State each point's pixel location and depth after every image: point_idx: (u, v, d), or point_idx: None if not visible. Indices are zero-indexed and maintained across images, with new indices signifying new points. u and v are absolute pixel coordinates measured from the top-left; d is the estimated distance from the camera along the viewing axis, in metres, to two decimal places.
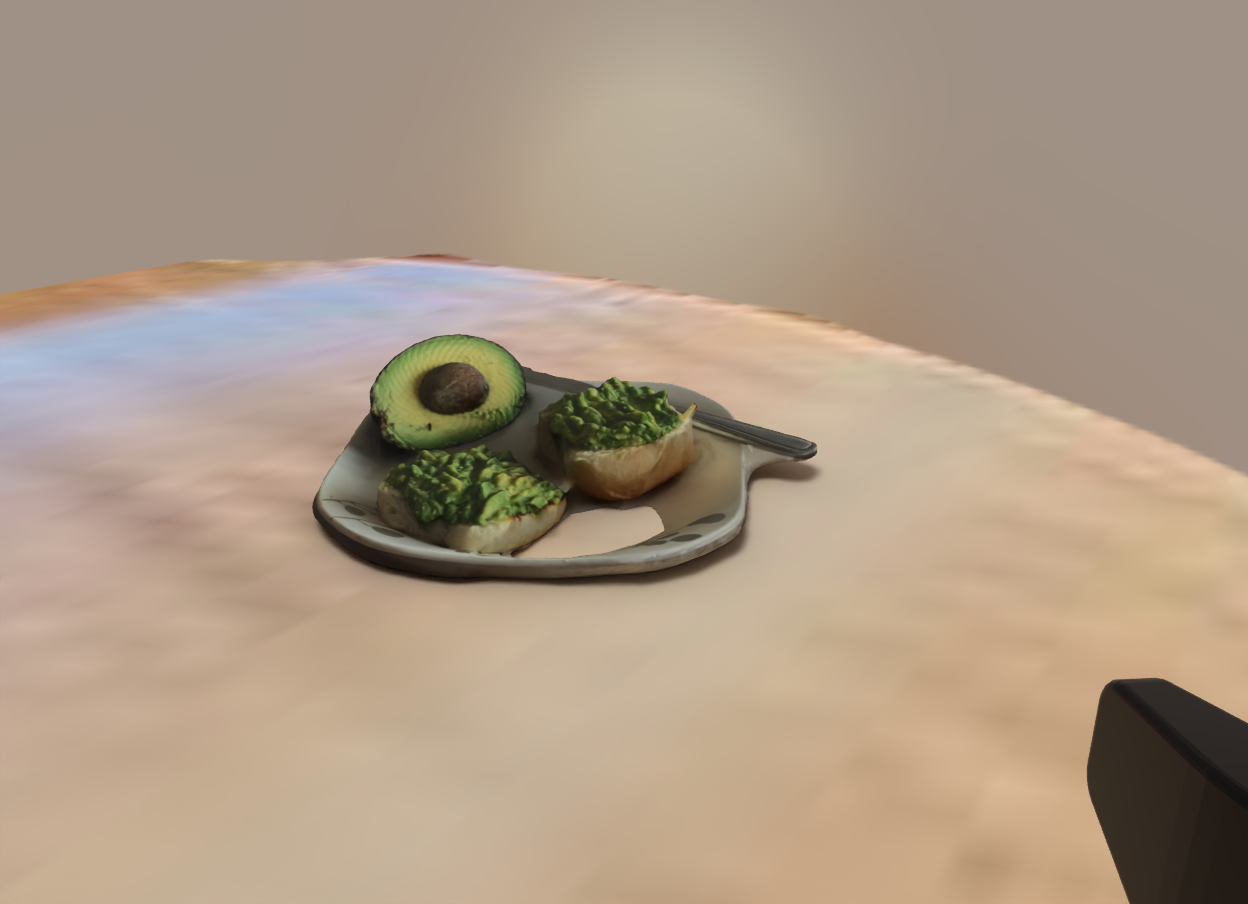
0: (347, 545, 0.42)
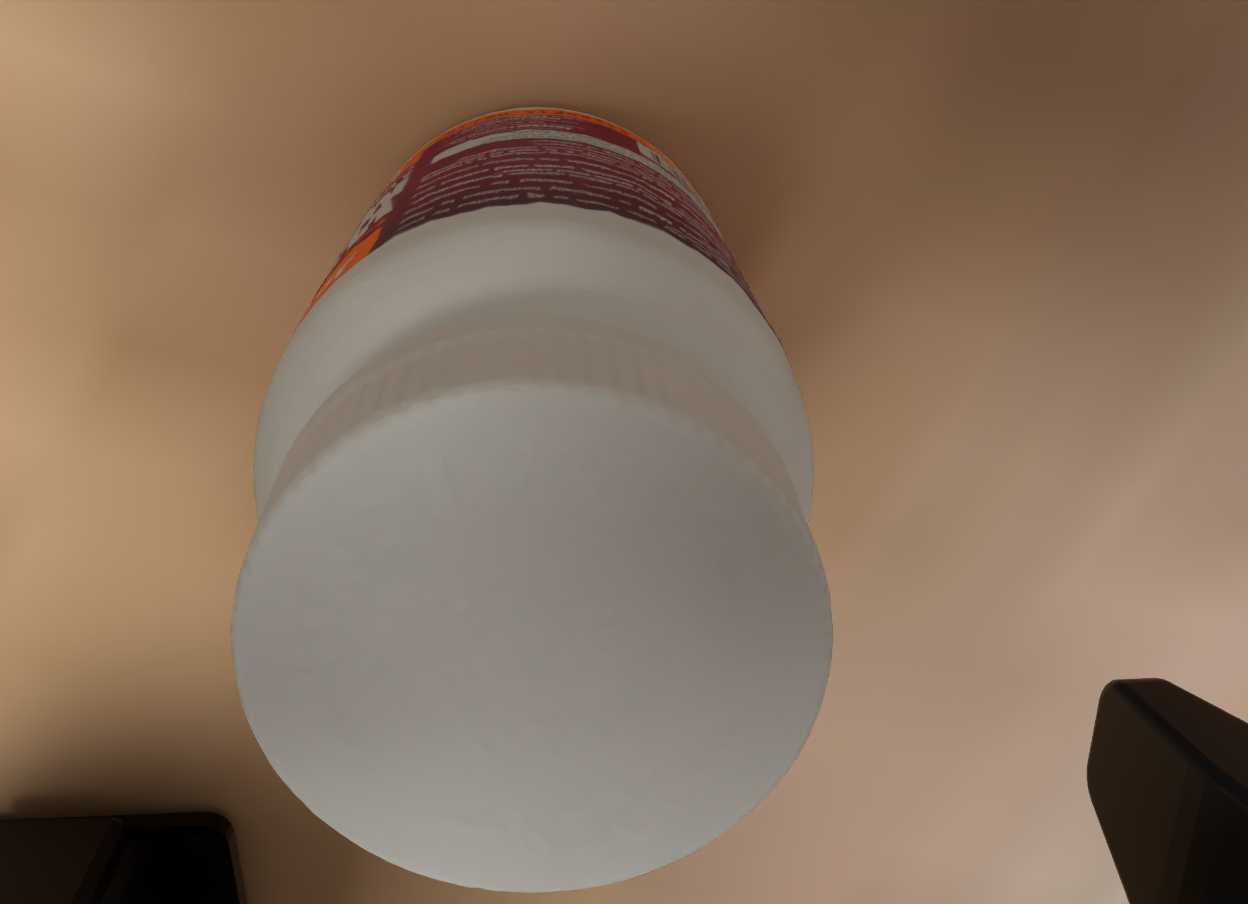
0: None
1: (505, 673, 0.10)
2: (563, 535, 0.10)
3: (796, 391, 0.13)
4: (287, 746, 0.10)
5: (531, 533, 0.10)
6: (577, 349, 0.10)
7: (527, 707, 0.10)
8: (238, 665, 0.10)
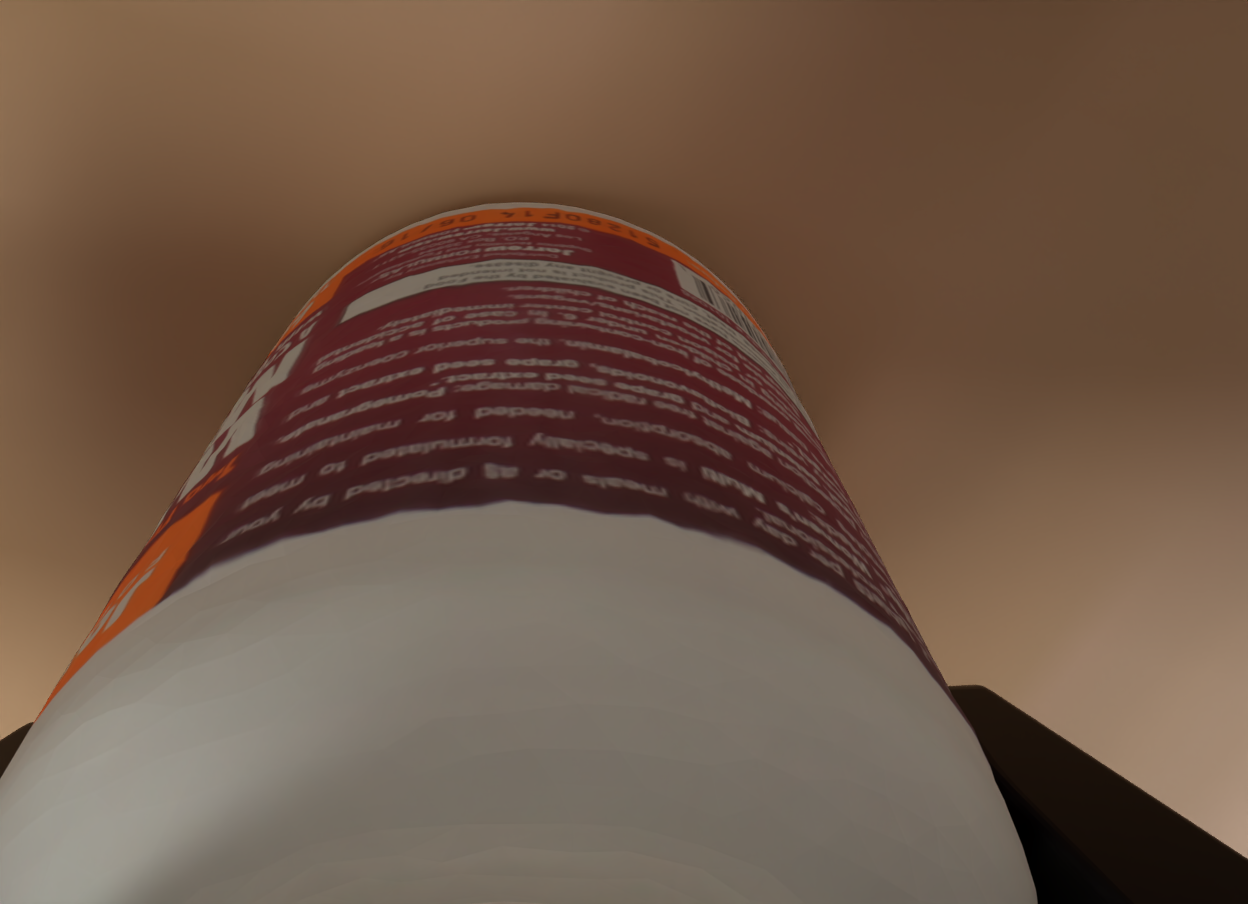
0: None
1: None
2: None
3: (1024, 865, 0.06)
4: None
5: None
6: None
7: None
8: None
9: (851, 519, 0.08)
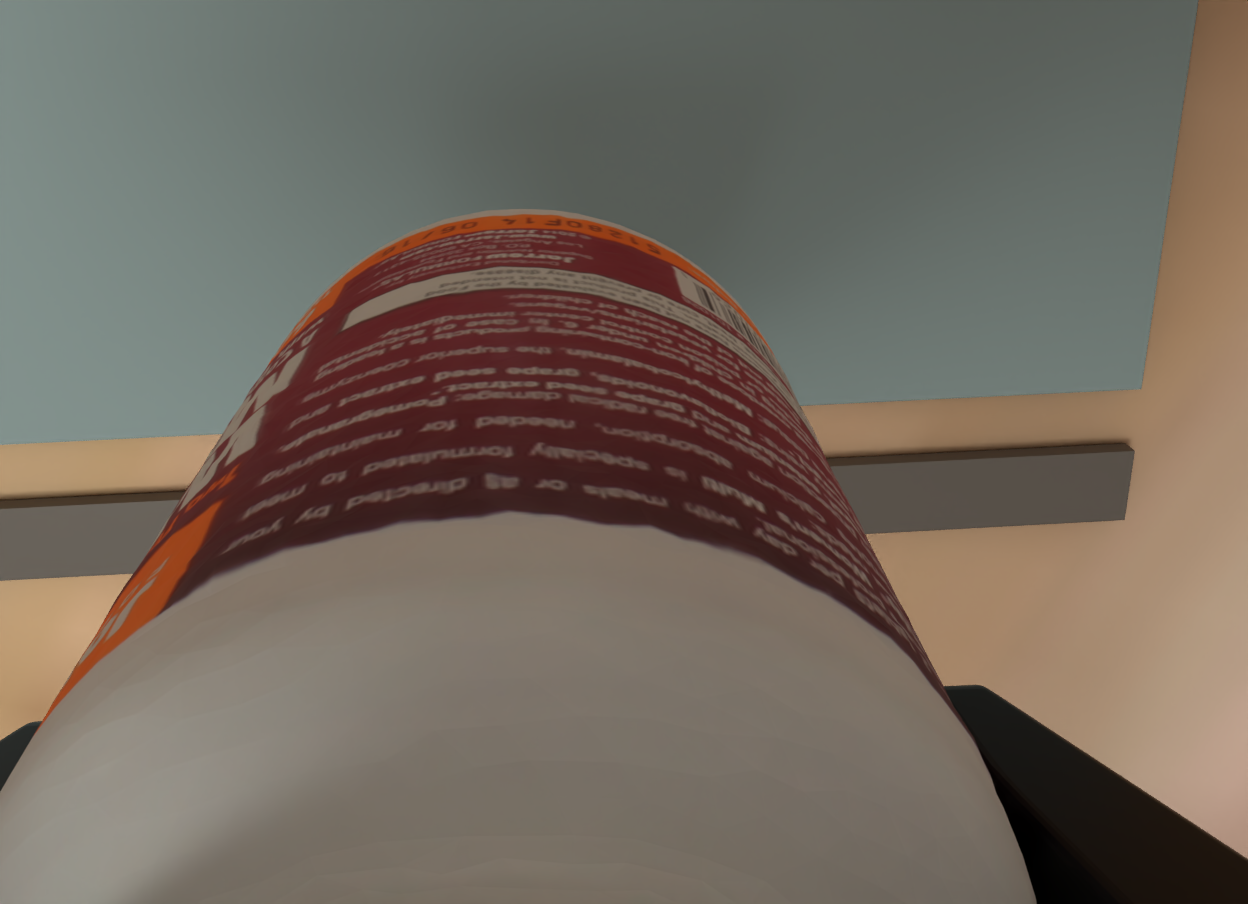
0: None
1: None
2: None
3: (1024, 876, 0.06)
4: None
5: None
6: None
7: None
8: None
9: (852, 527, 0.08)
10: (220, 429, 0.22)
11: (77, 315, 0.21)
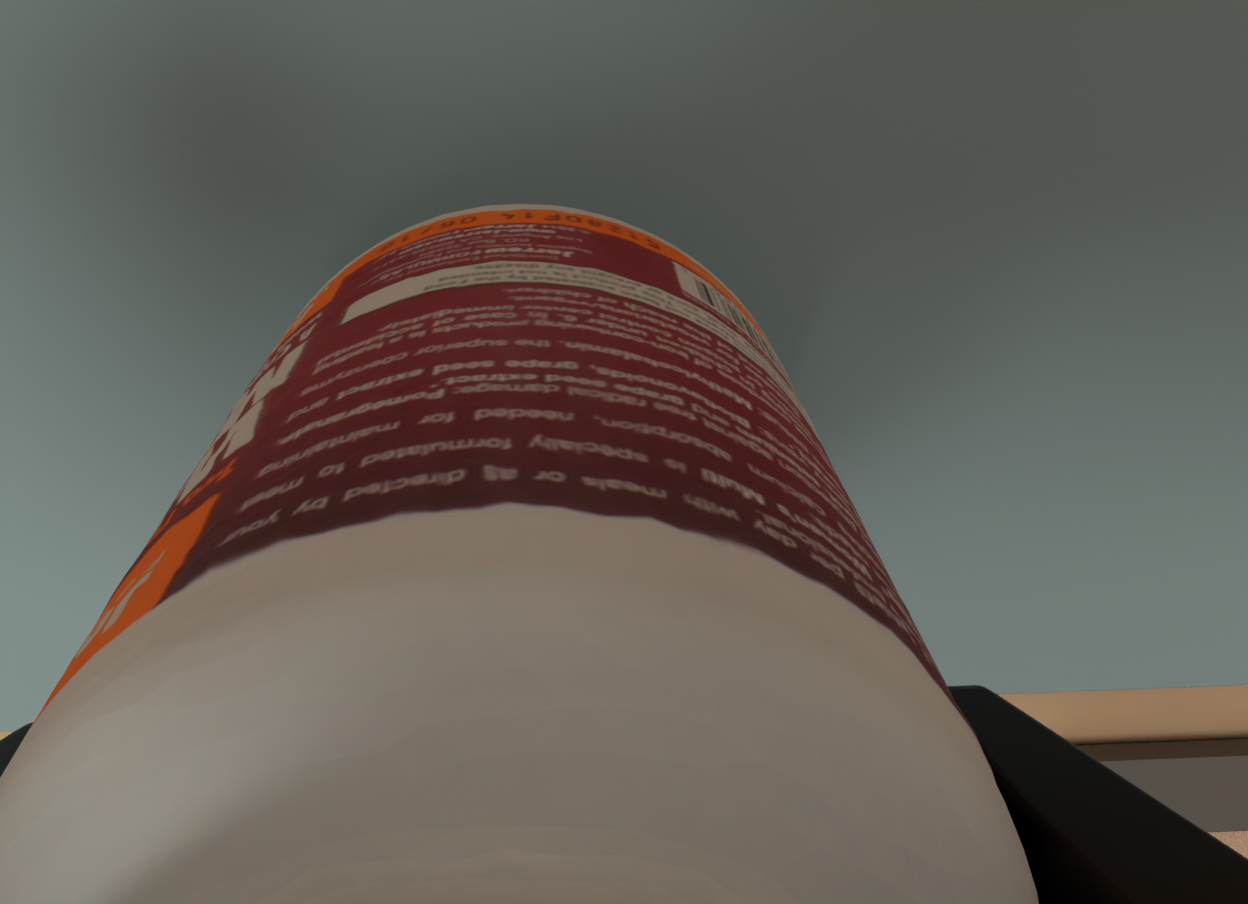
0: None
1: None
2: None
3: (1025, 869, 0.06)
4: None
5: None
6: None
7: None
8: None
9: (852, 521, 0.08)
10: None
11: None
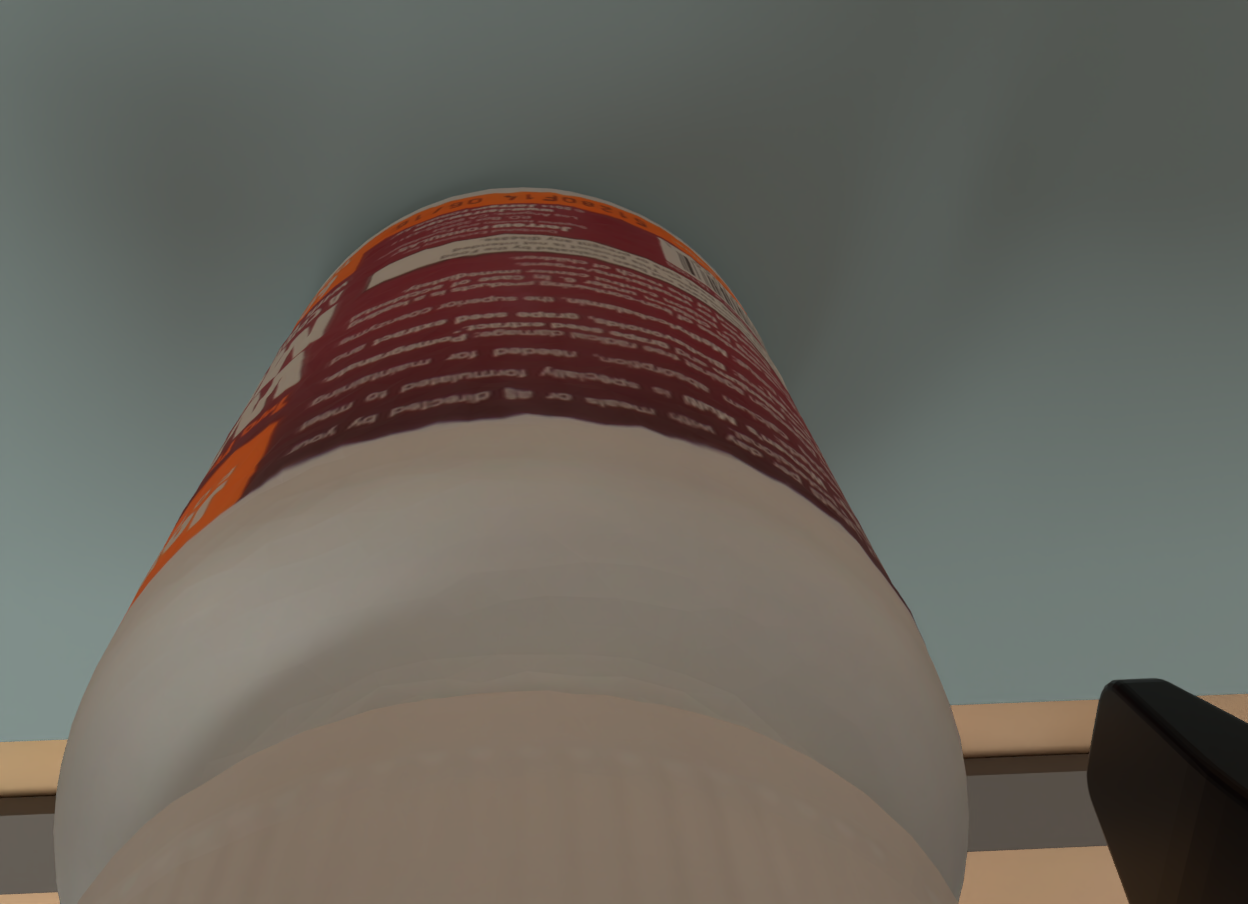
0: None
1: None
2: None
3: (948, 714, 0.08)
4: None
5: None
6: (604, 816, 0.05)
7: None
8: None
9: (812, 449, 0.09)
10: None
11: None
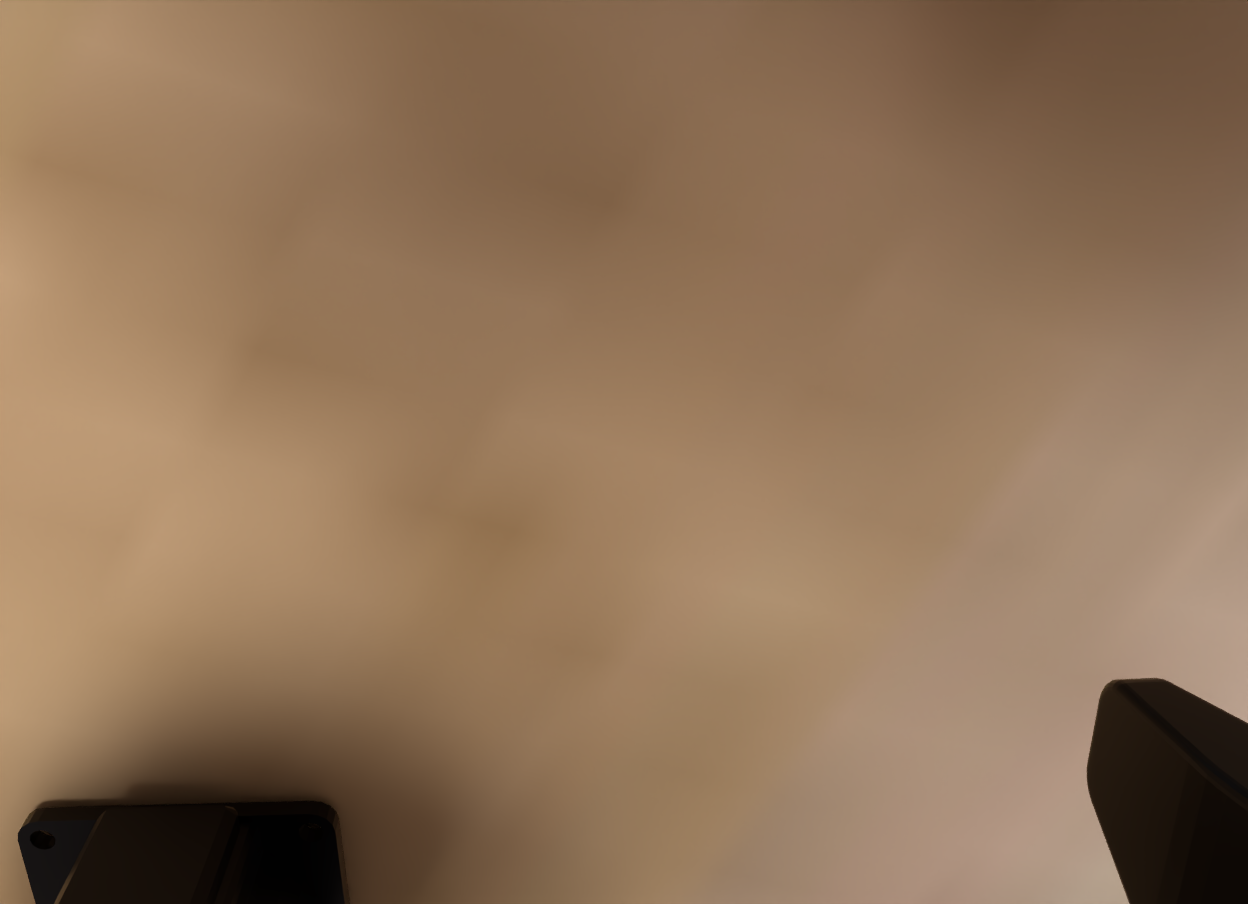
0: None
1: None
2: None
3: None
4: None
5: None
6: None
7: None
8: None
9: None
10: None
11: None
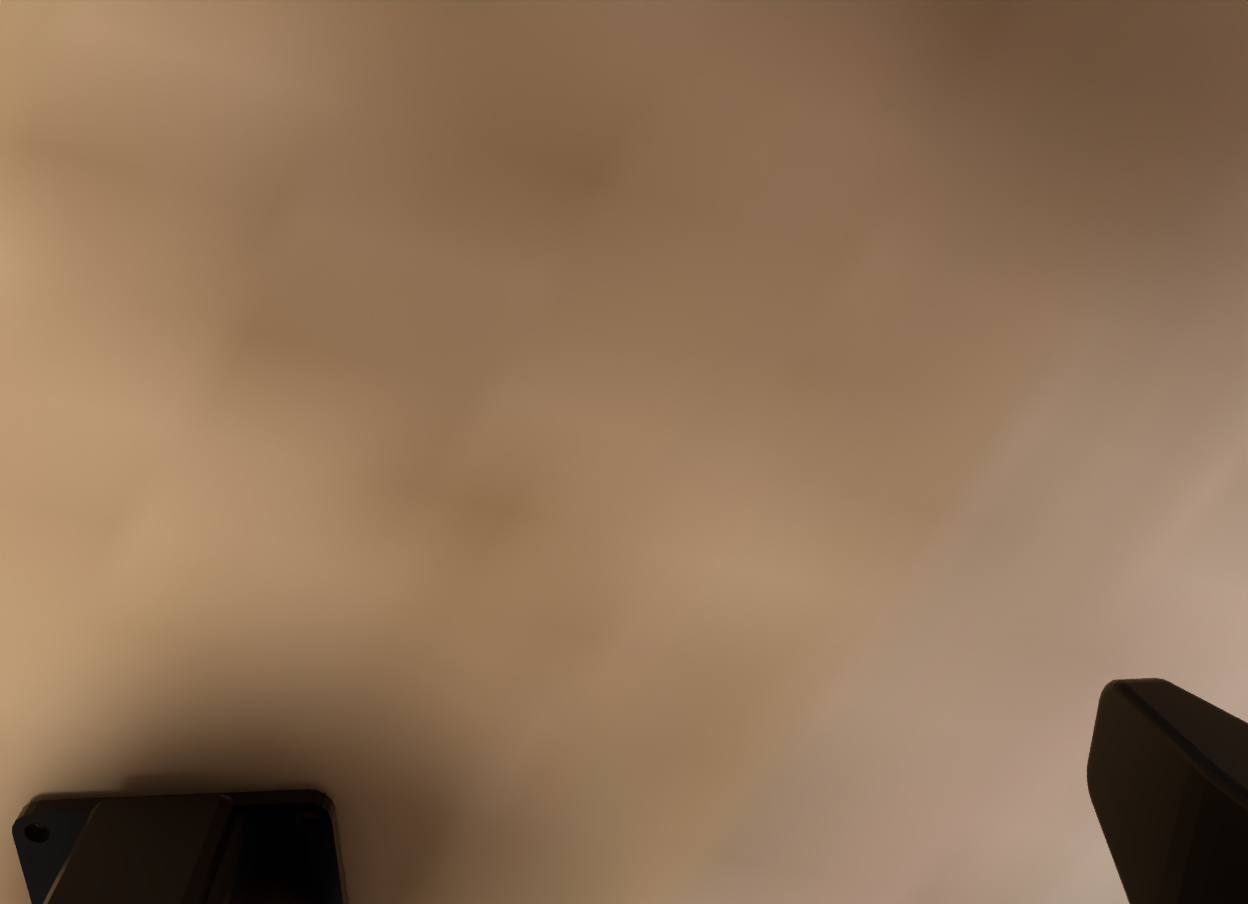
0: None
1: None
2: None
3: None
4: None
5: None
6: None
7: None
8: None
9: None
10: None
11: None
